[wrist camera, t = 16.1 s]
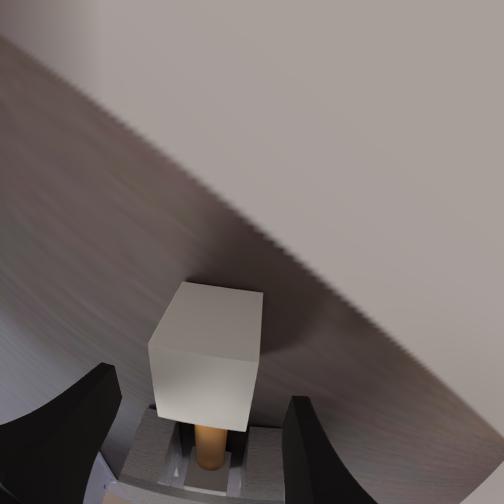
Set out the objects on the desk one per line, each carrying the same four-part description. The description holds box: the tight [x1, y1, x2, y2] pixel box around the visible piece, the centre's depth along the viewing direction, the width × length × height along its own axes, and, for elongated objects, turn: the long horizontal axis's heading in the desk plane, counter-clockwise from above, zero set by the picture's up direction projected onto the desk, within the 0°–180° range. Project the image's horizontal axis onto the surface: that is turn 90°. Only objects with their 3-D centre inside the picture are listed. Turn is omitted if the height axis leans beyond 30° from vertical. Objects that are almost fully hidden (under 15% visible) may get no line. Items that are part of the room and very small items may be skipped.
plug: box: [148, 282, 263, 496], centre depth 16 cm, size 20×4×5 cm, turn 173°
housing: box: [118, 408, 284, 504], centre depth 17 cm, size 8×10×7 cm
